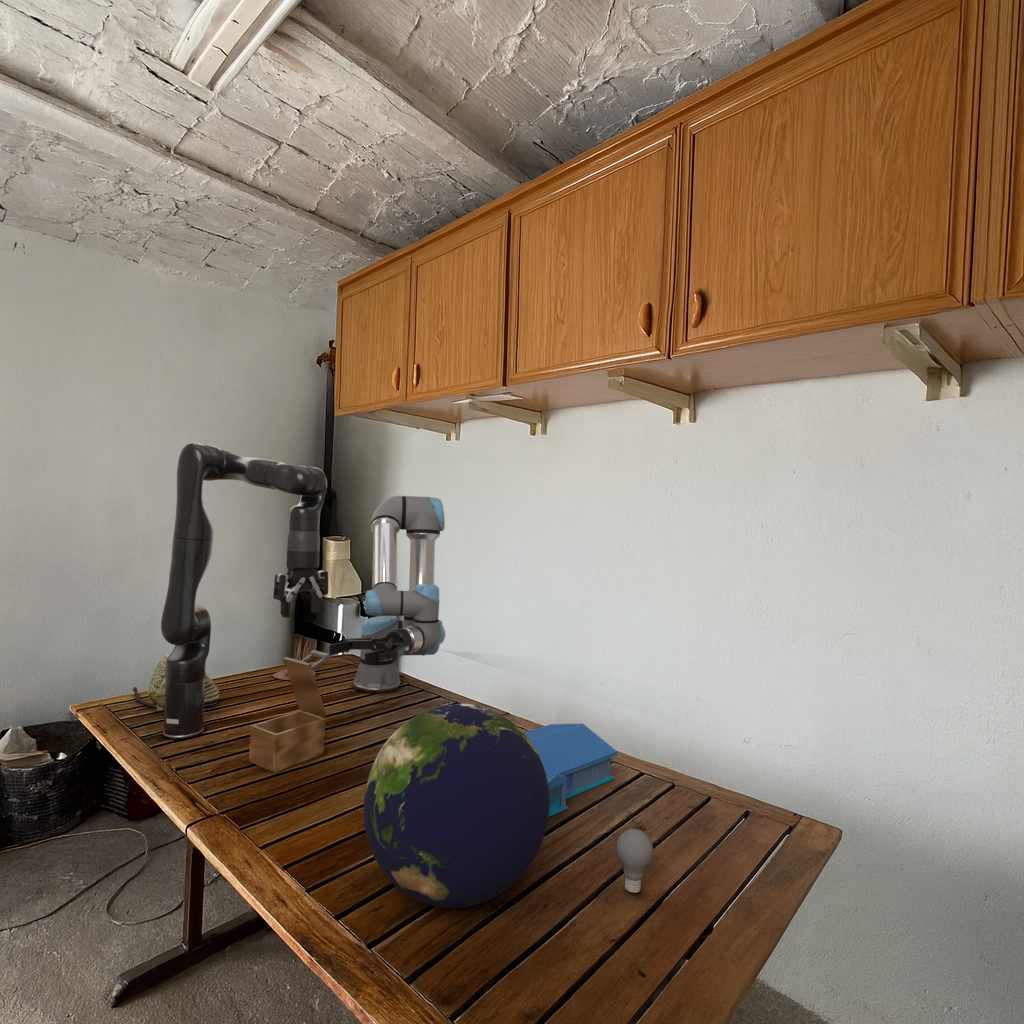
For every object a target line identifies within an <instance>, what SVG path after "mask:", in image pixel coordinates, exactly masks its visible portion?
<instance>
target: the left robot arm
mask: <svg viewBox="0 0 1024 1024" xmlns="http://www.w3.org/2000/svg"><path fill="white" fill-rule="evenodd" d="M177 455H178V456H177V459H176V506H175V520H174V528H173V536H172V545H171V558H170V566H169V567H170V568H169V577H168V584H167V585H168V586H167V592H166V596H165V601H164V606H163V610H162V613H161V614H162V615H161V620H160V631H161V635H162V638H163V639H164V640H165V641H166V642H167V643H169V644H170V645H173V646H174V647H173V650H172V651H171V652H170V653H169V654H168V655H169V656H168V657H167V659H166V674H165V705H164V708H163V710H162V711H163V731H162V737H164V738H166V739H169V740H185V739H190V738H191V739H192V738H194V737H197V736H199V735H202V734H203V732H204V730H205V729H204V726H205V725H204V722H205V721H204V718H205V706H204V693H205V672H206V664H207V663H206V662H207V658H208V655H209V653H210V647H211V636H212V635H211V634H212V619H211V615H210V613H209V611H208V610H207V608H206V607H204V606H203V605H200V604H196V599H197V592H198V588H199V587H200V584H201V581H202V579H203V577H204V575H205V573H206V571H207V569H208V566H209V564H210V561H211V558H212V553H213V545H214V544H213V543H214V529H213V525H212V522H211V520H210V517H209V515H208V513H207V511H206V507H205V505H204V501H203V485H204V481H206V482H207V481H208V482H210V481H211V482H213V481H225V480H226V481H227V480H228V481H230V480H233V481H241V482H244V483H246V484H248V485H252V486H254V487H259V488H262V489H263V488H264V489H269V490H275V491H280V492H283V493H286V494H290V495H294V496H295V495H296V496H300V498H299V502H298V504H296V505H293V506H292V507H291V508H290V510H289V515H288V516H289V517H288V533H287V540H286V569H287V571H286V574H282V573H276V574H275V575H274V582H273V583H274V585H273V595H272V597H273V599H274V600H278V601H279V602H280V615H281V617H282V618H286V619H287V618H290V617H291V607H292V606H291V605H292V603H291V600H292V599H293V597H294V596H295V595H296V594H297V593H298V592H303V591H308V592H309V593H310V594H311V599H310V600H311V603H310V612H311V614H319V613H320V611H321V604H322V602H321V601H322V598H323V596H325V595H328V594H329V572H328V571H327V570H323V569H322V570H321V569H320V570H318V568H319V567H320V549H321V548H320V547H321V536H320V521H321V520H320V517H321V511H322V507H323V504H324V501H325V497H326V494H327V488H328V479H327V476H326V474H325V472H324V471H323V470H322V469H321V468H319V467H316V466H307V465H306V466H305V465H297V464H287V463H285V462H281V461H277V460H273V459H272V460H271V459H266V458H259V457H246V456H242V455H238V454H235V453H232V452H230V451H228V450H226V449H223V448H220V447H218V446H215V445H211V444H204V443H198V442H196V443H195V442H188V443H186V444H184V445H183V446H182V447H181V448H180V450H179V452H178V454H177ZM132 692H134V696H135V700H136V701H137V702H138V703H139V704H142V705H144V706H148V707H150V708H152V709H156V706H155V703H151V702H148V701H145V700H143V699H141V698H140V695H139V693H138V692H139V691H138V687H136V686H135V687H133V689H132Z"/></svg>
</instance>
